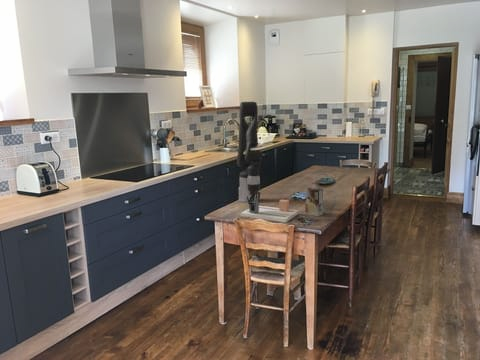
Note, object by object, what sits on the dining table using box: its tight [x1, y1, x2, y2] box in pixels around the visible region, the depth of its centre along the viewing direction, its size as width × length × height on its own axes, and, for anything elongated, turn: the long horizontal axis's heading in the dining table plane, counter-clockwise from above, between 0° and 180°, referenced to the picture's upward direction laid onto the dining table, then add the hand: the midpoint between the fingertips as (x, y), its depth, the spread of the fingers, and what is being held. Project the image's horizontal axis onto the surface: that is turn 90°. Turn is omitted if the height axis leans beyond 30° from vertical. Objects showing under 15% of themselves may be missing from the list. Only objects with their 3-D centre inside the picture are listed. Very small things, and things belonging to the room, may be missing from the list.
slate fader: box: [248, 201, 260, 213], centre depth 253 cm, size 5×4×6 cm
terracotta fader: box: [278, 199, 290, 211], centre depth 256 cm, size 5×4×6 cm
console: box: [240, 205, 300, 223], centre depth 255 cm, size 30×20×2 cm
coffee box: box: [305, 187, 324, 217], centre depth 253 cm, size 9×6×16 cm
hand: (254, 209), depth 253 cm, fingers closed on slate fader, 3 cm apart
